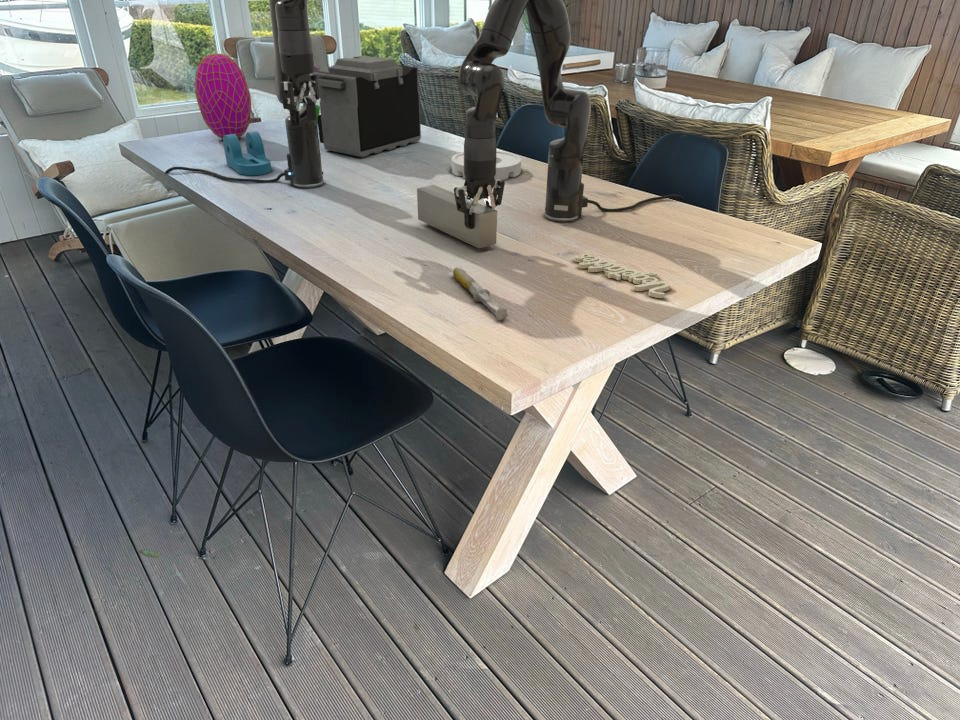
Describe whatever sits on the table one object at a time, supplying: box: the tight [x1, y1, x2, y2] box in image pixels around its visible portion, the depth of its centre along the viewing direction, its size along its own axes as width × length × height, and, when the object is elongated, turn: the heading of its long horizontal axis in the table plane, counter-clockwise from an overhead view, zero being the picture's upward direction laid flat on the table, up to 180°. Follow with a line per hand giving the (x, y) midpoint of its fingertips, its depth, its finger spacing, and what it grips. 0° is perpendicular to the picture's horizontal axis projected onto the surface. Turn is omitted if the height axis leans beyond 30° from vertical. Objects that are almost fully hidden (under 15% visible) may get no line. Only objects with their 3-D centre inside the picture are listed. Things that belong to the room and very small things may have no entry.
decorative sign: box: [574, 252, 671, 299], centre depth 155 cm, size 26×1×10 cm
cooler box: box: [311, 55, 422, 159], centre depth 250 cm, size 37×22×30 cm, turn 144°
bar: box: [416, 184, 498, 249], centre depth 173 cm, size 26×5×8 cm, turn 39°
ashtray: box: [451, 150, 522, 181], centre depth 228 cm, size 23×23×4 cm
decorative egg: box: [194, 53, 252, 140], centre depth 258 cm, size 19×19×30 cm
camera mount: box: [222, 131, 272, 176], centre depth 226 cm, size 18×10×10 cm, turn 35°
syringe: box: [452, 266, 509, 321], centre depth 145 cm, size 25×4×3 cm, turn 21°
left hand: (304, 123), depth 167 cm, fingers open, 8 cm apart
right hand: (479, 225), depth 167 cm, fingers closed on bar, 5 cm apart
